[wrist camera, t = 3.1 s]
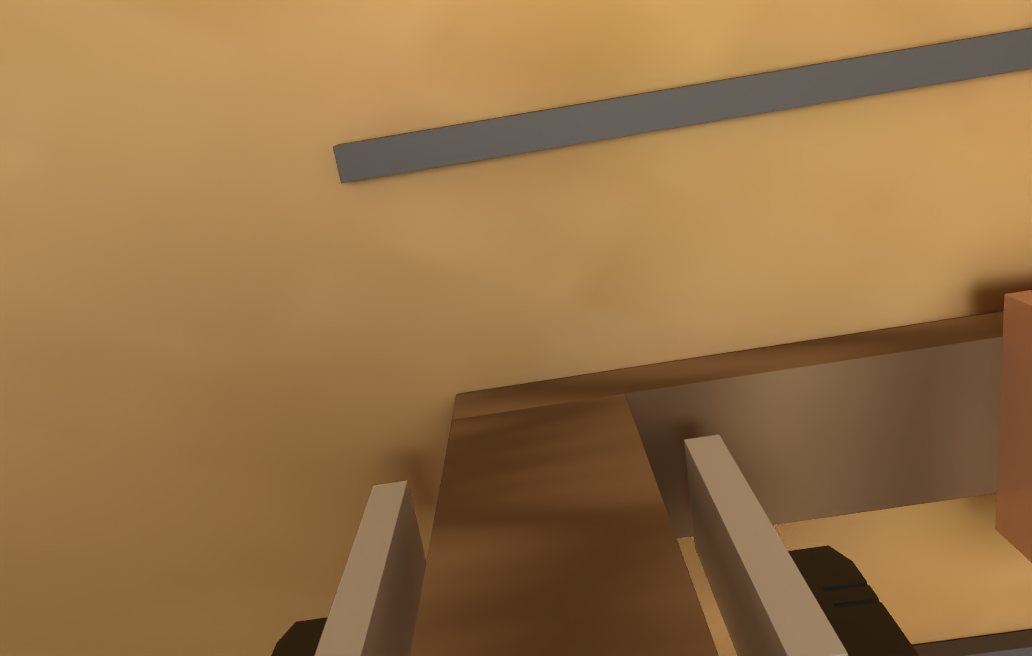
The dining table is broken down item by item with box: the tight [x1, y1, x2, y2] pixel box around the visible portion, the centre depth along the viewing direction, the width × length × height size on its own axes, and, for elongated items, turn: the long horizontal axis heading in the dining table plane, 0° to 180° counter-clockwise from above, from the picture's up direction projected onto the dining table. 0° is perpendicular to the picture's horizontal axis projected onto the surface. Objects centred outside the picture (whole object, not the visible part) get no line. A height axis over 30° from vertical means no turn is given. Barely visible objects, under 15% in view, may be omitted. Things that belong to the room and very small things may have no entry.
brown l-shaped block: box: [410, 311, 1004, 656], centre depth 14 cm, size 20×4×12 cm, turn 99°
